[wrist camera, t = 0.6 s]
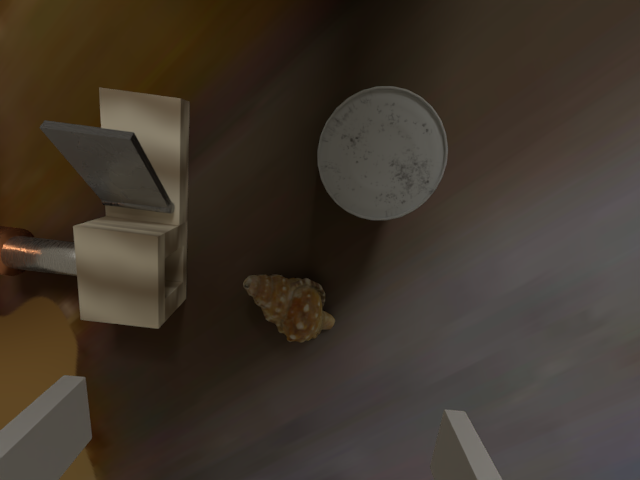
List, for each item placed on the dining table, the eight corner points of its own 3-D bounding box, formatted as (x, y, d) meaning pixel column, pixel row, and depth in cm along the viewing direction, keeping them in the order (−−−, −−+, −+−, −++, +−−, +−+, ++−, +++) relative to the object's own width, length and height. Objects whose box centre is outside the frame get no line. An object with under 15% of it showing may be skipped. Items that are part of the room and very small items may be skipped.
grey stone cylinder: (335, 209, 37) (341, 237, 25) (306, 127, 35) (297, 115, 23) (415, 180, 36) (461, 196, 24) (391, 94, 34) (429, 63, 22)
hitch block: (113, 91, 34) (60, 76, 27) (189, 101, 34) (156, 89, 27) (121, 291, 40) (80, 319, 33) (186, 298, 40) (158, 328, 33)
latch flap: (46, 118, 26) (38, 129, 25) (134, 130, 26) (129, 141, 25) (110, 198, 35) (105, 207, 34) (175, 206, 35) (171, 215, 34)
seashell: (265, 310, 44) (219, 318, 35) (294, 259, 43) (256, 253, 34) (319, 351, 41) (284, 372, 32) (351, 297, 40) (326, 302, 31)
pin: (16, 221, 37) (-31, 232, 32) (139, 236, 37) (111, 250, 32) (22, 263, 38) (-23, 281, 33) (140, 278, 39) (113, 297, 34)
